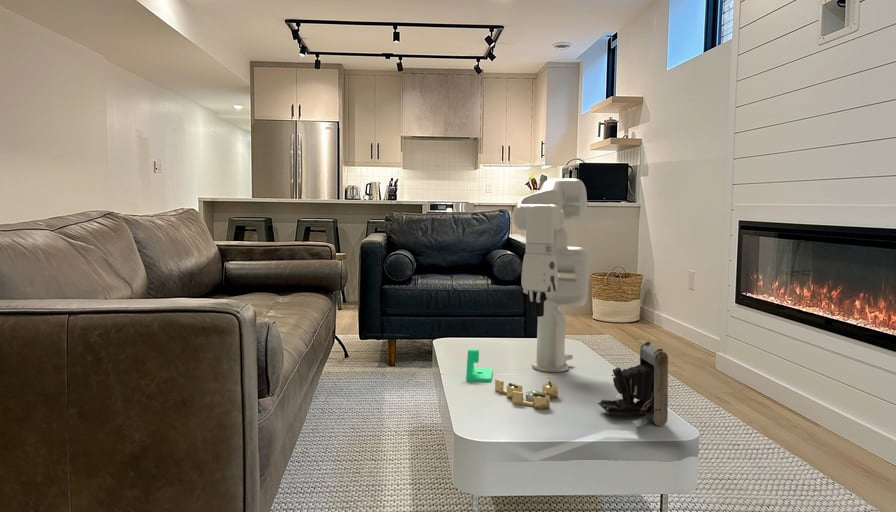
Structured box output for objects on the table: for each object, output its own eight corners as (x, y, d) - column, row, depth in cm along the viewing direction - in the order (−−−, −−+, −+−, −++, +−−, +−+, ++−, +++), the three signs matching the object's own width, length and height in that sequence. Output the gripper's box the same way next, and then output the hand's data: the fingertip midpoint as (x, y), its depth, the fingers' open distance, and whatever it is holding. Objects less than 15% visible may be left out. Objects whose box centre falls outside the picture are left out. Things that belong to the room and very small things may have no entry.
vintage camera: (596, 415, 155) (596, 343, 153) (652, 413, 156) (653, 340, 155) (609, 430, 146) (609, 352, 144) (668, 426, 147) (670, 350, 145)
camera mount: (490, 387, 178) (491, 354, 178) (466, 385, 179) (466, 353, 179) (492, 376, 190) (493, 345, 190) (469, 375, 191) (469, 344, 190)
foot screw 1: (525, 397, 163) (525, 385, 163) (513, 400, 161) (514, 388, 161) (501, 388, 172) (502, 377, 171) (490, 391, 169) (490, 379, 169)
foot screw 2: (551, 406, 157) (551, 393, 156) (547, 410, 153) (547, 397, 153) (515, 400, 161) (515, 388, 161) (510, 405, 157) (510, 392, 157)
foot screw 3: (558, 399, 163) (558, 386, 163) (542, 398, 163) (542, 386, 163) (556, 388, 173) (556, 376, 173) (541, 387, 173) (541, 376, 173)
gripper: (569, 251, 155) (567, 319, 156) (529, 248, 167) (527, 311, 168) (550, 252, 150) (548, 321, 152) (510, 248, 162) (508, 313, 164)
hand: (537, 316), depth 160 cm, fingers closed
